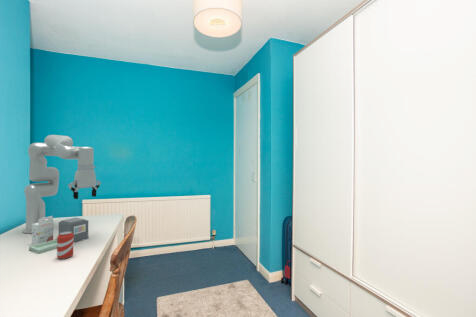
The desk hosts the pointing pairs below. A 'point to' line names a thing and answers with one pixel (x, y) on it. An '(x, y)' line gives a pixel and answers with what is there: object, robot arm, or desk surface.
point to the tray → (44, 247)
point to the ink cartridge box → (42, 231)
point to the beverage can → (65, 244)
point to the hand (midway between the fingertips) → (85, 197)
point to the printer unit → (75, 228)
